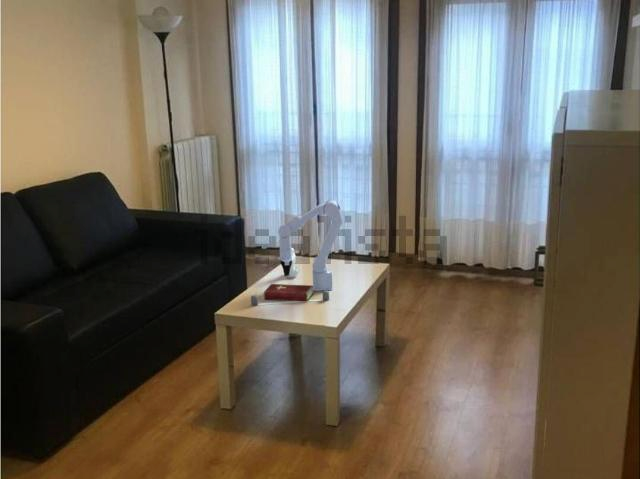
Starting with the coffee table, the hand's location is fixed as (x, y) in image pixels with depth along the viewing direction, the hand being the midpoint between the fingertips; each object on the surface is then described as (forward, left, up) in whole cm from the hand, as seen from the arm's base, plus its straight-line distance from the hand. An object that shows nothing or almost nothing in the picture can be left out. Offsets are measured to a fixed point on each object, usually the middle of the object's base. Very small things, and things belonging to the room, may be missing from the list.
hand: (286, 275), depth 320 cm
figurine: (-4, -20, -7) cm, 22 cm away
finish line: (0, +20, -7) cm, 21 cm away
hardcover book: (0, +12, -7) cm, 14 cm away
